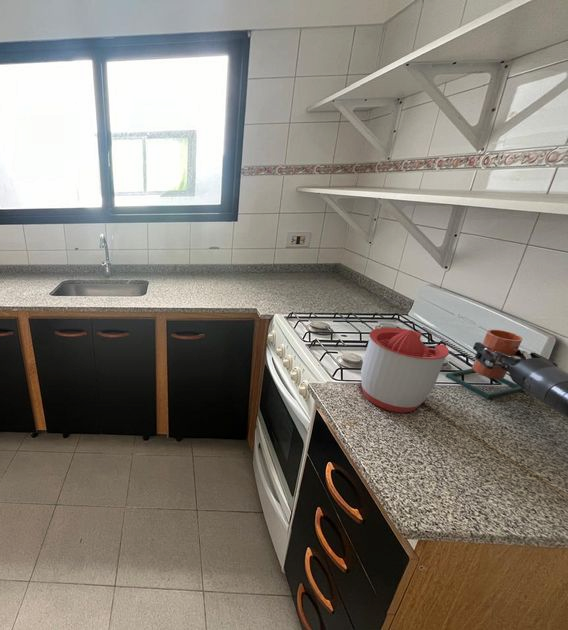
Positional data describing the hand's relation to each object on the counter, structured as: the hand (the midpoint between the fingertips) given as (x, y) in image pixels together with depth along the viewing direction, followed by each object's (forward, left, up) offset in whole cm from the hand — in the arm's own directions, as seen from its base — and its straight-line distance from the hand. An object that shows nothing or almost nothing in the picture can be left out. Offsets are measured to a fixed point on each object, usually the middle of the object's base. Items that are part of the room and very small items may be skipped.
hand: (490, 346), depth 90 cm
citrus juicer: (+28, -1, -12) cm, 30 cm away
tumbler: (+1, +2, -6) cm, 7 cm away
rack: (+1, +2, -12) cm, 12 cm away
